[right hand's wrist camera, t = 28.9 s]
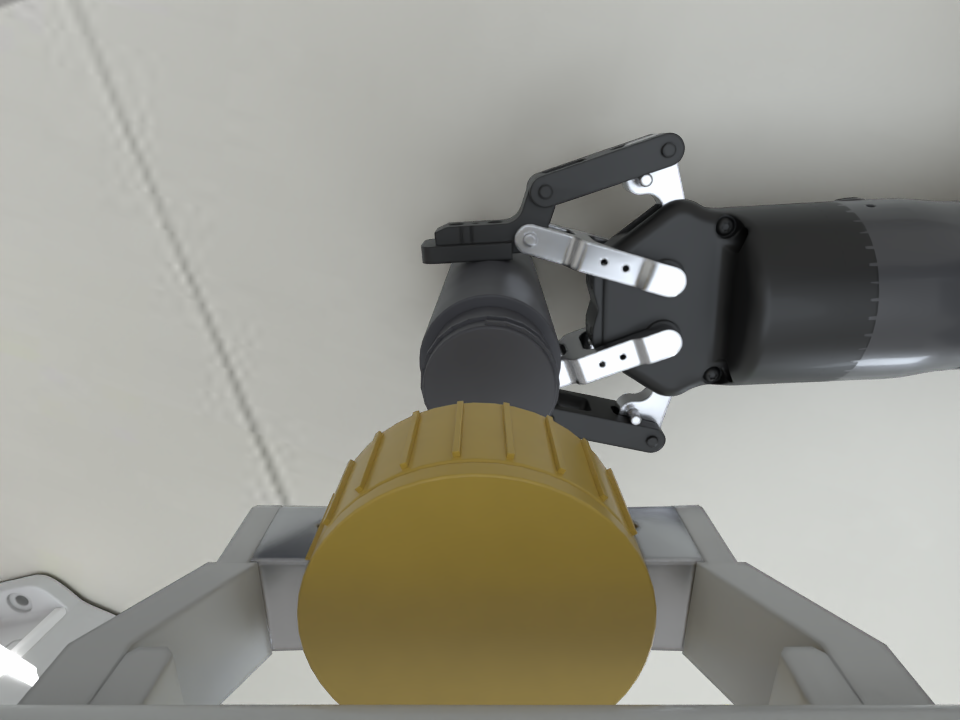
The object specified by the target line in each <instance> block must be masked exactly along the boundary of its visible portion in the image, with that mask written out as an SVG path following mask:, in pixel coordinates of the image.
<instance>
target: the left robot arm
mask: <svg viewBox="0 0 960 720" xmlns="http://www.w3.org/2000/svg"><path fill="white" fill-rule="evenodd" d="M684 150H685V146H684V142H683V140H682V138H681V137H680V136H678V135H677V134H674V133H661V134H650V135H647V136H644V137H641V138H638V139H635V140H632V141H629V142H626V143H623V144H621V145H618V146H615V147H612V148H609V149H606V150H603V151H600V152H597V153H594V154H592V155H589V156H586V157H583V158H580V159H577V160H574V161H571V162H568V163H565V164H563V165H560V166H557V167H554V168H551V169H548V170H545V171H542V172H539V173H536V174H534V175H533V176H532V177H531V178H530V179H529V181H528V183H527V189H526V192H525V195H524V198H523V201H522V205H521V207H520V209H519V211H518V212H517V214H516V215H515V216H513V217H511V218H509V219H505V220H489V221H473V222H452V223H447V224H445V225H443V226H441V227H439V228H438V229H437V230H436V231H435V239H429V240H425V241H424V243H423V244H422V245H421V249H422V260H423V263H425V264H441V263H460V262H480V261H499V260H513V253H523V254H526V255H530V256H533V257H537V258H540V259H544V260H547V261H551V262H555V263H558V264H562V265H565V266H567V267H569V268H571V269H573V270H576V271H579V272H583V273H586V283H587V286H588V290H589V294H590V303H589V306H588V310H587V313H586V327H585V328H582V329H580V330H577V331H574V332H572V333H569V334H567V335H565V336H563V337H562V338H561V340H559V341H558V342H559V347H560V351H561V370H560V375H559V380H560V388H562V387H565V386H567V385H570V384H574V383H577V384H588V383H591V382H593V381H596V380H599V379H602V378H605V377H608V376H610V375H613V374H616V373H619V372H623V373H625V374H626V375H628V376H629V377H631V378H632V379H634V380H636V381H637V382H639V383H640V384H642V385H643V386H645V387H646V388H645V389H644V390H643V391H641V392H639V393H635V394H630V393H628V394H624V395H622V396H620V397H619V398H618V399H617V401H615V400H610V399H605V398H600V397H596V396H591V395H586V394H581V393H576V392H571V391H566V390H561V389H559V396H558V401H557V403H556V405H555V408H554V410H553V412H552V415H551V417H553V421H554V422H556V423H558V424H559V425H561V426H563V427H564V428H566V429H568V430H569V431H571V432H572V433H573V434H574V435H576V436H577V437H578V438H580V439H583V438H585V439H586V440H588V441H593V442H598V443H603V444H608V445H613V446H618V447H623V448H628V449H633V450H638V451H643V452H649V453H653V452H657V451H659V450H660V449H661V448H662V447H663V446H664V444H665V436H664V434H663V432H662V430H661V425H662V422H663V419H664V416H665V414H666V411H667V408H668V405H669V403H670V400H671V397H672V396H676V395H680V394H682V393H684V392H686V391H688V390H689V389H692V388H694V387H697V386H700V385H705V384H716V385H752V384H774V383H796V382H822V381H842V380H867V379H887V378H898V377H904V376H910V375H915V374H921V373H926V372H933V371H942V370H957V369H960V201H927V200H917V199H868V200H865V199H861V198H856V197H853V198H843V199H837V200H835V201H833V202H814V203H796V204H778V205H760V206H742V207H724V208H707V207H703V206H701V205H699V204H698V203H696V202H694V201H691V200H687V199H685V196H684V191H683V186H682V181H681V176H680V171H679V166H678V162H679V161H680V160H681V158H682V157H683V154H684ZM620 183H622V184H623V186H624V188H625V189H626V190H627V191H628V192H631V193H633V194H636V195H645V194H650V195H652V196H653V197H654V199H655V201H656V204H655V205H654V206H652V207H651V208H650V209H649V210H647V211H646V212H645V213H643V214H642V215H641V216H639V217H638V218H637V219H636V220H634V221H633V222H632V223H630V224H629V225H628V226H626V227H625V228H624V229H622V230H621V231H620V232H619V233H617V234H616V235H615V236H613V237H612V238H611V239H608V238H605V237H601V236H598V235H594V234H591V233H587V232H584V231H580V230H577V229H572V228H566V227H562V226H559V225H555V224H552V223H550V221H551V218H552V215H553V212H554V209H555V206H556V205H558V204H561V203H564V202H567V201H570V200H573V199H576V198H579V197H582V196H585V195H588V194H590V193H593V192H596V191H599V190H602V189H605V188H608V187H611V186H614V185H617V184H620ZM589 340H590V341H589ZM600 362H602V363H600Z"/></svg>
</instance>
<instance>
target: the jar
mask: <svg viewBox="0 0 960 720" xmlns="http://www.w3.org/2000/svg"><path fill="white" fill-rule="evenodd" d="M420 370H421V390H422V394H423V398H424V402H425V405H426V407H427V409H428V410H430V409H433V408H438V407H443V406H447V405H452V404H457V401H463V402H464V403H495V404H501V405H503V403H504V402H505V403H509V404H510V406H513V407H517V408H521V409H524V410H528V411H531V412H534V413H537V414H539V415H541V416H544V417H546V416H547V415H549V416H551V415H552V412H553V410H554V408H555V405H556V403H557V401H558V396H559V388H560V380H559V375H560V370H561V351H560V347H559V342H558V339H557V336H556V333H555V330H554V326H553V323H552V320H551V317H550V314H549V311H548V307H547V304H546V301H545V298H544V295H543V292H542V288H541V285H540V282H539V279H538V276H537V272H536V269H535V266H534V263H533V260H532V258H531V256H530V255H526V254H523V253H513V260H499V261H480V262H460V263H452V264H451V267H450V269H449V272H448V275H447V277H446V280H445V282H444V285H443V288H442V290H441V293H440V296H439V298H438V301H437V304H436V306H435V309H434V312H433V314H432V317H431V320H430V322H429V325H428V328H427V330H426V333H425V336H424V338H423V341H422V345H421V349H420Z"/></svg>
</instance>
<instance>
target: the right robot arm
mask: <svg viewBox="0 0 960 720" xmlns="http://www.w3.org/2000/svg"><path fill="white" fill-rule="evenodd" d="M327 507H328V506H281V505H257V506H255V507H253V508H252V509H251V510H250V511H249V513H248V514H247V516H246V517H245V519H244V521H243V522H242V524H241V525H240V527H239V528H238V530H237V531H236V533H235V534H234V536H233V538H232V539H231V541H230V542H229V544H228V545H227V547H226V548H225V550H224V551H223V553H222V555H221V556H220V558H219V559H218V561H217V562H208V563H206V564H204V565H203V566H201V567H199V568H198V569H196V570H194V571H192V572H191V573H189V574H187V575H186V576H184V577H182V578H180V579H179V580H177V581H175V582H173V583H172V584H170V585H168V586H167V587H165V588H163V589H161V590H160V591H158V592H156V593H155V594H153V595H151V596H149V597H148V598H146V599H144V600H143V601H141V602H139V603H137V604H136V605H134V606H132V607H131V608H129V609H127V610H125V611H124V612H122V613H120V614H118V615H117V616H116V615H114V614H112V613H109V612H107V611H104V610H102V609H100V608H97V607H95V606H93V605H90V604H88V603H86V602H85V601H83V600H81V599H80V598H79V597H78V596H76V595H75V594H74V593H73V592H72V591H70V590H69V589H68V588H67V587H65V586H64V585H63V584H61V583H60V582H58V581H57V580H55V579H53V578H51V577H49V576H46V575H32V576H28V577H23V578H19V579H15V580H10V581H6V582H2V583H0V720H960V705H935V704H934V703H933V701H932V700H931V699H930V698H929V697H928V695H927V694H926V693H925V692H924V690H923V689H922V688H921V687H920V686H919V684H918V683H917V682H916V681H915V679H914V678H913V677H912V676H911V675H910V673H909V672H908V671H907V670H906V668H905V667H904V666H903V665H902V664H901V662H900V661H899V660H898V659H897V657H896V656H895V655H894V654H893V653H892V651H891V650H890V649H889V648H888V647H887V645H885V644H884V643H882V642H880V641H879V640H877V639H875V638H873V637H872V636H870V635H868V634H867V633H865V632H863V631H862V630H860V629H858V628H857V627H855V626H853V625H851V624H850V623H848V622H846V621H845V620H843V619H841V618H840V617H838V616H836V615H834V614H833V613H831V612H829V611H828V610H826V609H824V608H823V607H821V606H819V605H817V604H816V603H814V602H812V601H811V600H809V599H807V598H806V597H804V596H802V595H801V594H799V593H797V592H795V591H794V590H792V589H790V588H789V587H787V586H785V585H784V584H782V583H780V582H778V581H777V580H775V579H773V578H772V577H770V576H768V575H767V574H765V573H763V572H761V571H760V570H758V569H756V568H755V567H753V566H751V565H750V564H748V563H746V562H737V561H736V559H735V557H734V556H733V554H732V553H731V551H730V550H729V548H728V547H727V545H726V543H725V542H724V540H723V539H722V537H721V536H720V534H719V532H718V531H717V529H716V528H715V526H714V525H713V523H712V521H711V520H710V518H709V517H708V515H707V514H706V512H705V511H704V509H703V508H702V507H701V506H699V505H684V506H668V507H627V508H628V511H629V513H630V516H631V518H632V521H633V523H634V526H635V528H636V531H637V534H636V535H634V537H635V539H636V542H637V544H638V547H639V549H640V552H641V555H642V557H643V559H644V562H645V564H646V567H647V570H648V572H649V576H650V579H651V582H652V585H653V588H654V594H655V600H656V607H657V609H656V629H655V635H654V640H653V645H652V648H651V650H668V651H683V652H682V654H683V655H685V656H686V657H687V658H688V659H689V660H690V661H691V662H692V663H693V664H694V665H695V666H696V667H697V668H698V669H699V670H700V671H701V672H702V673H703V674H704V675H705V676H706V677H707V678H708V679H709V680H710V681H711V682H712V683H713V684H714V685H715V686H716V687H717V688H718V689H719V690H720V691H721V692H722V693H723V694H724V695H725V696H726V697H727V698H728V699H729V700H730V701H731V702H732V703H733V704H734V705H220V704H221V703H222V702H223V701H224V700H225V699H226V698H227V697H228V696H229V695H230V694H231V693H232V692H233V691H234V690H235V689H236V688H237V687H239V686H240V685H241V684H242V683H243V682H244V681H245V680H246V679H247V678H248V677H249V676H250V675H251V674H252V673H253V672H254V671H255V670H256V669H257V668H258V667H259V666H260V665H261V664H262V663H263V662H264V661H265V660H266V659H267V658H268V657H269V656H270V655H271V654H272V651H286V650H303V647H302V644H301V640H300V636H299V631H298V619H297V606H298V594H299V590H300V586H301V582H302V579H303V575H304V573H305V570H306V568H307V566H308V563H309V561H310V560H305V558H306V555H307V553H308V551H309V548H310V546H311V544H312V542H313V539H314V537H315V535H316V532H317V530H318V528H319V525H320V523H321V521H322V519H323V516H324V514H325V512H326V509H327Z"/></svg>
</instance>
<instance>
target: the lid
mask: <svg viewBox="0 0 960 720" xmlns="http://www.w3.org/2000/svg"><path fill="white" fill-rule="evenodd" d="M636 534H637V531H636V528H635V526H634V523H633V521H632V518H631V516H630V513H629V511H628V508H627V506H626V503H625V501H624V499H623V496H622V494H621V491H620V489H619V486H618V484H617V481H616V479H615V476H614V474H613V472H612V470H611V468H609V469H607V470H606V468H605V467H604V465H603V464H602V462H601V461H600V460H599V458H598V457H597V455H596V454H595V453H594V452H593V451H592V450H591V448H590V446H589V443H588V441H587V440H586V439H585V438H583V439H582V440H581V439H580V438H578V437H577V436H576V435H574V434H573V433H572V432H571V431H569V430H568V429H566V428H564V427H563V426H561V425H559V424H558V423H556V422H554V421H553V417H551V416H549V415H547V416H546V417H544V416H541V415H539V414H537V413H534V412H531V411H528V410H524V409H521V408H517V407H513V406H510V404H509V403H505V402H504V403H503V405H501V404H495V403H464V402H463V401H457V404H452V405H447V406H443V407H438V408H433V409H430V410H427V411H424V412H421V413H420V412H419V411H415V412H413V415H412V416H411V417H409V418H407V419H405V420H403V421H401V422H399V423H397V424H395V425H394V426H392V427H391V428H389V429H387V430H386V431H384V432H383V433H382V432H381V431H379V432H377V433H376V434H375V437H374V439H373V441H372V442H371V443H370V444H369V445H368V446H367V447H366V448H365V449H364V450H363V451H362V452H361V454H360V455H359V456H358V457H357V458H356V459H355V461H353V460H350V461H349V462H348V464H347V466H346V469H345V471H344V473H343V476H342V478H341V480H340V483H339V485H338V487H337V490H336V492H335V493H333V495H332V498H331V500H330V502H329V505H328V507H327V509H326V512H325V514H324V516H323V519H322V521H321V523H320V525H319V528H318V530H317V532H316V535H315V537H314V539H313V542H312V544H311V546H310V548H309V551H308V553H307V555H306V558H305V560H310V561H309V563H308V566H307V568H306V570H305V573H304V575H303V579H302V582H301V586H300V590H299V594H298V606H297V619H298V631H299V636H300V640H301V644H302V647H303V651H304V653H305V656H306V658H307V660H308V663H309V665H310V667H311V669H312V671H313V672H314V674H315V675H316V677H317V679H318V680H319V682H320V683H321V685H322V686H323V687H324V688H325V689H326V691H327V692H328V693H329V694H330V696H331V697H332V698H333V699H334V700H335V701H336V702H337V703H338V704H340V705H616V704H617V703H618V701H619V700H620V699H621V698H622V697H623V696H624V695H625V694H626V693H627V692H628V691H629V689H630V688H631V687H632V685H633V684H634V683H635V681H636V680H637V678H638V677H639V675H640V673H641V671H642V669H643V667H644V666H645V664H646V662H647V659H648V656H649V653H650V651H651V648H652V645H653V640H654V635H655V629H656V609H657V607H656V600H655V594H654V588H653V585H652V582H651V579H650V576H649V572H648V570H647V567H646V564H645V562H644V559H643V557H642V555H641V552H640V549H639V547H638V544H637V542H636V539H635V537H634V535H636Z"/></svg>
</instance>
